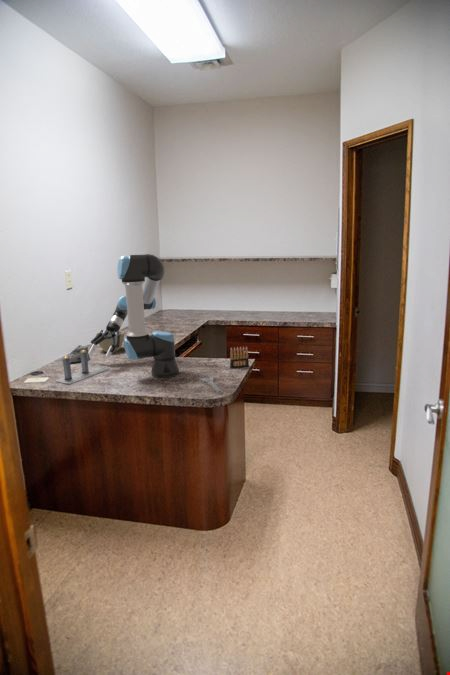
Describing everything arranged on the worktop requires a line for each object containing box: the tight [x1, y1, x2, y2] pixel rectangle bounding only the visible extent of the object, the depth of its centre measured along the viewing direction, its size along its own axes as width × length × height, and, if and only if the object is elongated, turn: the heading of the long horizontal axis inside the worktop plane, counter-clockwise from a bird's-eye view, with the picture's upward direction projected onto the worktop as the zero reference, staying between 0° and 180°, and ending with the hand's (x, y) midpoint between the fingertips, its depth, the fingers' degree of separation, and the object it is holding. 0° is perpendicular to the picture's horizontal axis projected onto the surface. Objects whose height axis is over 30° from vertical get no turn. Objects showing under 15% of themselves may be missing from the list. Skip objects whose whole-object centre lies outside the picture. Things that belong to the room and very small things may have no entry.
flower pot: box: [95, 330, 125, 353], centre depth 296 cm, size 18×18×12 cm
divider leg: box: [80, 350, 89, 372], centre depth 247 cm, size 3×3×12 cm
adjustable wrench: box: [201, 375, 224, 395], centre depth 223 cm, size 25×6×2 cm, turn 14°
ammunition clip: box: [229, 345, 250, 370], centre depth 252 cm, size 11×2×12 cm, turn 104°
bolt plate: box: [55, 355, 111, 385], centre depth 246 cm, size 10×30×13 cm, turn 151°
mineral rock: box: [67, 344, 91, 363], centre depth 275 cm, size 13×11×10 cm
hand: (98, 355), depth 256 cm, fingers open, 13 cm apart
